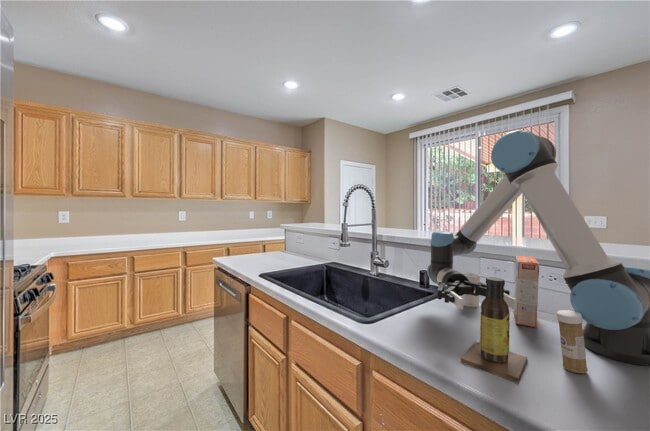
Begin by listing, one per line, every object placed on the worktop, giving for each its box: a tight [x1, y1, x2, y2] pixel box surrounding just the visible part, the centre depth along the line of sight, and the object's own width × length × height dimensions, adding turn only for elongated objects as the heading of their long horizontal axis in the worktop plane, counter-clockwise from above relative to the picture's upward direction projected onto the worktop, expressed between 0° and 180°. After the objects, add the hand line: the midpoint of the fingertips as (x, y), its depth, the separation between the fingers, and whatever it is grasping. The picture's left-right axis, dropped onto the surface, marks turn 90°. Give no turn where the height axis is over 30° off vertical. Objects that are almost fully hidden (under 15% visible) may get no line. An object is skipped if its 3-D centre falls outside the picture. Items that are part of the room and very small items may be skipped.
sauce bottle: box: [479, 276, 511, 362], centre depth 71 cm, size 6×6×20 cm
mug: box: [460, 271, 481, 308], centre depth 112 cm, size 10×7×12 cm, turn 129°
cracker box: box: [513, 255, 540, 328], centre depth 97 cm, size 14×6×21 cm, turn 148°
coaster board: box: [460, 341, 528, 383], centre depth 71 cm, size 12×12×1 cm
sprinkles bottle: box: [556, 309, 589, 374], centre depth 68 cm, size 5×5×14 cm
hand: (488, 304), depth 73 cm, fingers open, 13 cm apart
